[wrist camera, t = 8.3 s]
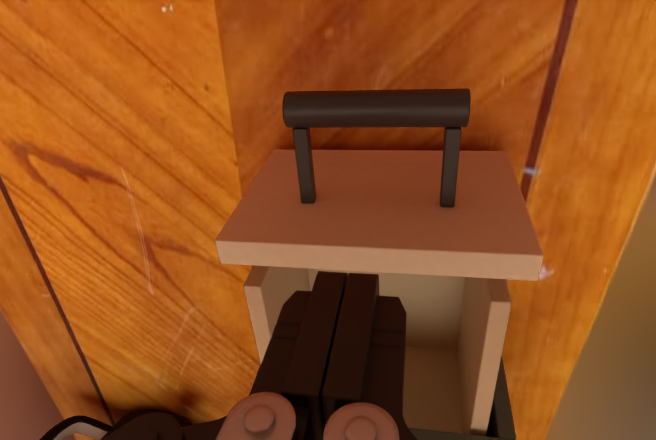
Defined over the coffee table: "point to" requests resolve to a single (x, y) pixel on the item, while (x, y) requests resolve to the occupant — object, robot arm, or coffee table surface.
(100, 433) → the mug
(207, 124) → the coffee table surface
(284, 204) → the drawer
